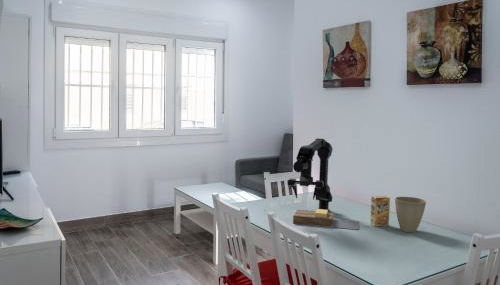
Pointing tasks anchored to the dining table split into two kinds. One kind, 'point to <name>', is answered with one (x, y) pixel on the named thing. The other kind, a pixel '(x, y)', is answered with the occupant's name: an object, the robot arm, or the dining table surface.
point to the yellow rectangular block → (321, 213)
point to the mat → (346, 224)
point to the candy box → (380, 211)
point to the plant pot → (409, 212)
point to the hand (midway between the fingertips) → (305, 198)
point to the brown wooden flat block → (312, 218)
